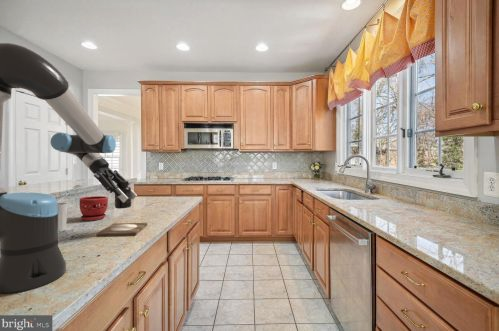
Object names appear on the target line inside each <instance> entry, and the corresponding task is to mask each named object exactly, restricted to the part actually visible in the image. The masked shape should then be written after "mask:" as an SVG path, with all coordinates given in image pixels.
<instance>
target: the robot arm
mask: <svg viewBox="0 0 499 331" xmlns="http://www.w3.org/2000/svg"><path fill="white" fill-rule="evenodd" d="M12 89H21V90H26V91H28V92H31V93H32V94H33V95H34V96H35V97H37V99H40V100H42V101H45V102H46V103H47V104H48V105H49V107H51V108H52V110H53V111H54V112H55V113H56V114H57V115H58V116H59V117H60V118H61V119H62V120H63V121H64V122H65V123H66V124H67V125H68V127H70V128H71V130H72V131H73V132H74V133H75V134H69V133H67V132H56V133H55V134H53V135H52V136H51V138H50V146H51V148H52V149H54V150H55V151H58V152H60V153H64V154H65V153H66V154H69V155H73V156H76V157H77V158H78V159H79V160H80V161H81V162H82V163H83V164H84V166H85V167H87V168H88V169H89V171H91V173H92V174H93V177H94V178H95V179H97V180H98V182H99V183H100V184H101V185H102V186H103V188H104V189H105V190H106V191H107V192H109V193H110V194H112V193H115V194H116V196H117V197H118V198H119V199H120V200H121V201H122V202H123V203H124V202H125V201H126V200H127V199H128V197H127V196H126V195H125V194H124V193H123V192H122V191H121V190H120V189H119V188H117V189H116V187H117V185H116V184H117V182H118V181H127V180H126V178H124V177H123V176H122V175H121V174H120V173H119V172H118V171H117V170H116V169H114V170H112V169H111V168H110V167H109V166H110V164H109V162H108V161H107V159H105V158H104V157H103V156H102V154H110V153H114V151H115V150H116V146H117V142H116V139H115V137H114V136H112V135H108V134H106V135H105V134H104V133H103V132H102V131H101V129H100V128H99V126H98V125H97V124H96V123H95V121H94V120H93V118H91V116H90V115H89V114H88V112H87V111H86V110H85V108H84V107H83V105H82V104H81V103H80V101H78V99H77V98H76V96H75V95H74V94H73V93H72V91H71V90H70V84H69V81H67V79H66V78H65V77H64V75H63V73H61V72H60V71H59V69H57V68H56V67H55V66H54V65H53V64H52V63H51V62H50V61H48V60H47V59H46V58H44V57H43V56H41V55H40V54H38V53H37V52H35V51H33V50H31V49H30V48H27V47H25V46H23V45H18V44H15V43H9V42H2V43H1V42H0V170H1V169H2V168H1V165H2V164H1V163H2V142H3V124H4V123H3V122H4V120H3V119H4V118H3V117H4V103H6V102H7V101H9V100H11V98H12ZM128 184H129V185H130V182H128ZM129 185H128V187H130V186H129ZM137 196H138V194H137V193H136V192H135V191H134V190H133V189H131V201H133V200H135V199H136V198H137ZM57 203H58V200H57V198H56V197H55V196H53V195H52V194H48V193H42V192H10V193H8V190H7V189H5V188H4V187H3V186H1V185H0V294H9V293H19V292H23V291H24V292H25V291H28V290H29V291H30V290H33V289H35V288H39V287H42V286H45V285H47V284H49V283H52V282H54V281H56V280H58V279H59V278H61V277H63V275H65V274H66V272H67V263H66V260H65V259H64V256H63V254H62V251H61V250H60V247H59V231H58V207H57Z"/></svg>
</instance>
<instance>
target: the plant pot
mask: <svg viewBox="0 0 499 331" xmlns="http://www.w3.org/2000/svg"><path fill="white" fill-rule="evenodd" d="M108 203H109V197H108V196H103V195H101V196H98V195H97V196H96V195H95V196H85V197H80V198H79V210H80V214H82V215H81V216H80V219H81V220H83V221H88V222H89V221H90V222H91V221H98V220H102V219H104V218H105V217H106V216H107V214H106V213H107V210H108V209H107V208H108Z"/></svg>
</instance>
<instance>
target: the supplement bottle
mask: <svg viewBox="0 0 499 331" xmlns="http://www.w3.org/2000/svg"><path fill="white" fill-rule="evenodd" d="M128 183H129V180H126V181H118V182H117V183H116V189H117V188H119V189H120V190H121V191H122V192H123V193H124V194H125V195H126V196H127V197H128V199H127V200H126V201H125V202H124V203H123V202H122V201H121V200H120V199H119V198H118V197H117V196H116V194H115V193H114V192H113V193H114V195H113V196H114V208H115V209H118V210H119V209H128V208H131V206H132V199H131V190H132V188H131V186H129V187H128V185H130V183H129V184H128Z"/></svg>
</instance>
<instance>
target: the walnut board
mask: <svg viewBox="0 0 499 331" xmlns="http://www.w3.org/2000/svg"><path fill="white" fill-rule="evenodd" d="M147 226H148V222H125V223H124V222H119V223H117V222H116V223H112V224H110V225H109V226H107V227H105V228H104V229H101V230H100V231H98V232H97V233H95V234H96V237H128V236H129V237H130V236H132V237H133V236H134V237H135V236H137V235H138V234H140V232H141V231H143V230H144V229H145V228H146V227H147Z"/></svg>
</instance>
